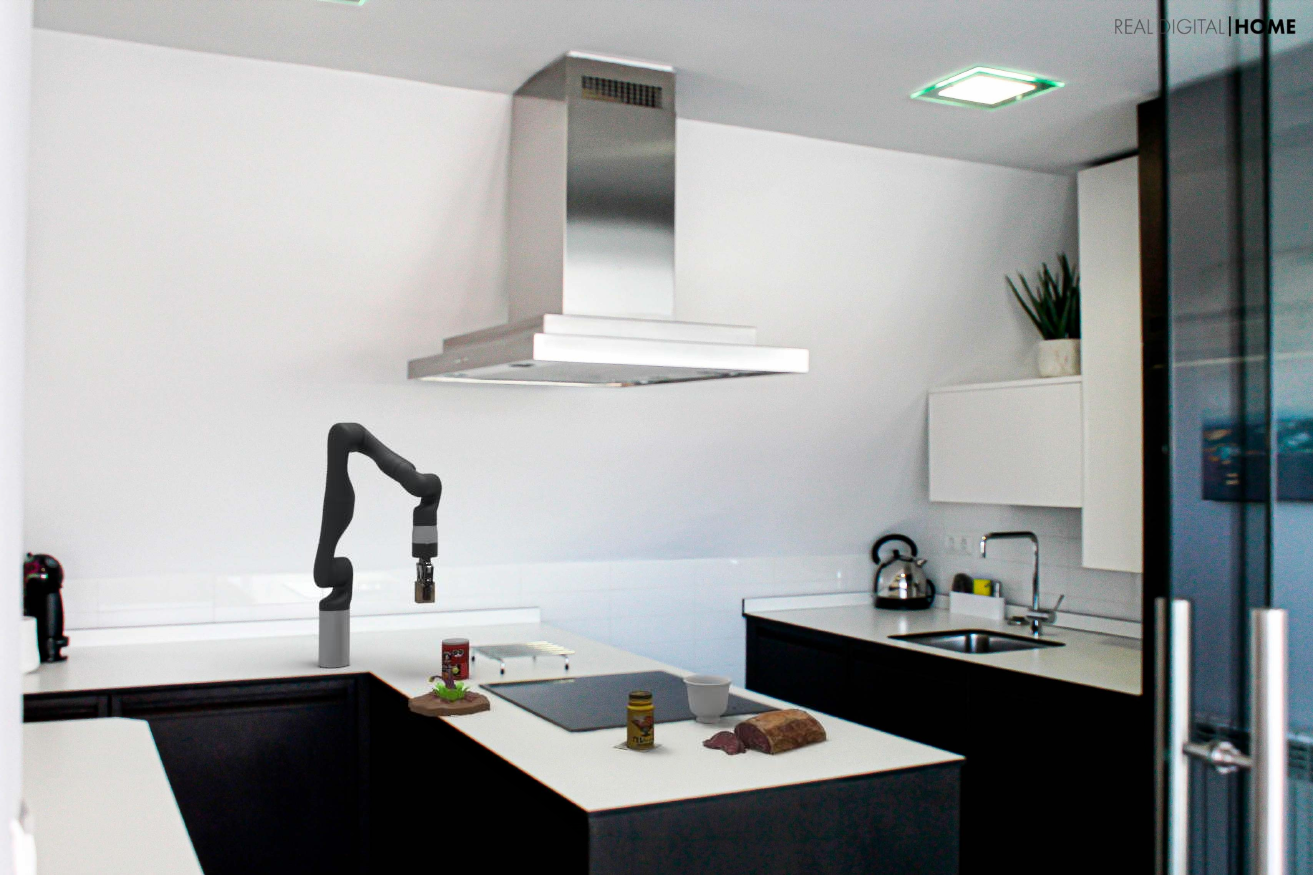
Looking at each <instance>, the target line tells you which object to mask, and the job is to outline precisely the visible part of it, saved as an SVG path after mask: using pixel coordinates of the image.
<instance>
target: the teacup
mask: <svg viewBox="0 0 1313 875" xmlns="http://www.w3.org/2000/svg"><path fill="white" fill-rule="evenodd" d="M683 682H684V683H685V685H686V689H687V690H686V691H687V698H688V705H689V709H690V711H691V712H692V713H691V714H694V715H695V716H696V721H697V722H699V723H704V724H714V723H715V724H716V723H718V722H720V721H721V718H720V716H723V714H725V713H726V711H727V707H728V702H729V694H730V693H729V692H730V686H731V683H733V678H731V677H729V676H727V675H721V674H720V675H719V674H710V673H709V674H693V675H689V676H686V677H685V678H683Z"/></svg>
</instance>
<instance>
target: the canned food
mask: <svg viewBox="0 0 1313 875" xmlns="http://www.w3.org/2000/svg"><path fill="white" fill-rule="evenodd" d="M453 666H456V667H457V668H458V672H457V673H453V674H454V675H453V678H454V680H456V681H464V680H467V679H469V676H470V639H468V638H462V637H459V638H458V637H453V638H452V637H451V638H445V639H443V640H441V676H442V677H444V678H445V679H446V680H449V676H446V674H445V673H446V671H447V669H449V670H450V671H451V669H452V667H453ZM463 679H464V680H463Z"/></svg>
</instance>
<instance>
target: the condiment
mask: <svg viewBox="0 0 1313 875" xmlns="http://www.w3.org/2000/svg"><path fill="white" fill-rule="evenodd" d="M627 703H628V704H627V706H626V740H625V741H623V742H621V743H619V744H616V745H614V746H613V748H617V749H624V750H629V751H634V752H641V753H646V752H647V753H648V752H649V751H652V750H653V749H655V748H657V747H659V746H661V745H662V743H657V742H655V706H654V704H653V693H652V692H651V691H646V690H633V691H631V692H629V693H628V702H627Z"/></svg>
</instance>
